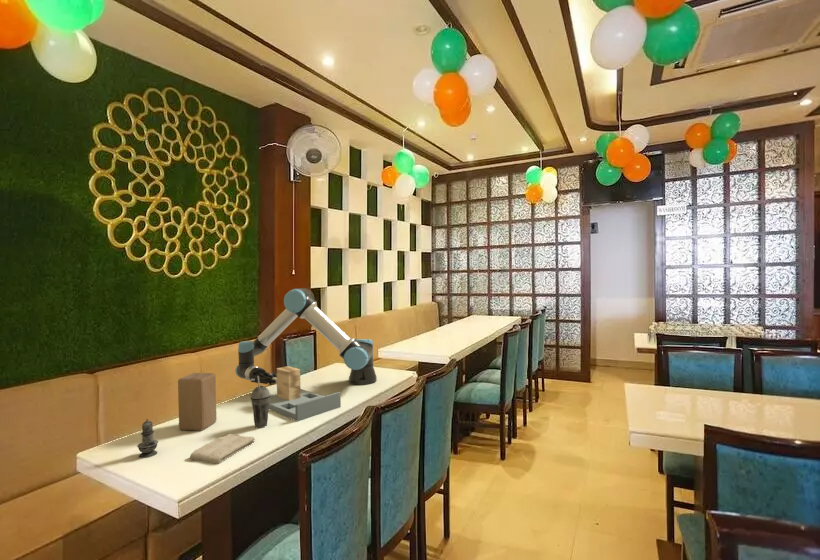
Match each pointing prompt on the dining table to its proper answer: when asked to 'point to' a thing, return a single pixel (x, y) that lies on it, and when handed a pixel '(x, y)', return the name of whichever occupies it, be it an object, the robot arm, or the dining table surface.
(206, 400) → the block
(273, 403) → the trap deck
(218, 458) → the washcloth
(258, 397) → the beverage cup
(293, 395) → the oak block
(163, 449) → the dining table surface
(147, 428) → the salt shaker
